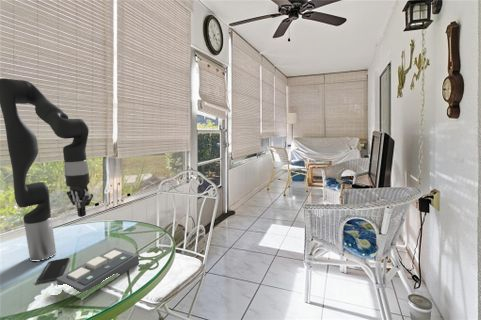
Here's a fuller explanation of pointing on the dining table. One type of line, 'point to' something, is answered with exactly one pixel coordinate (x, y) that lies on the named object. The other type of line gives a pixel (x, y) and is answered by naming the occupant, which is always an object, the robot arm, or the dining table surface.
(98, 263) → the key
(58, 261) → the phone
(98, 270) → the keypad
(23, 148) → the robot arm
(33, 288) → the dining table surface
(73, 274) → the key
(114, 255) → the key
